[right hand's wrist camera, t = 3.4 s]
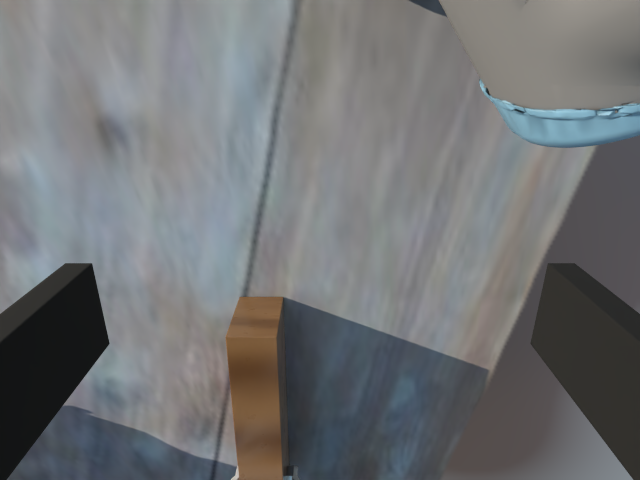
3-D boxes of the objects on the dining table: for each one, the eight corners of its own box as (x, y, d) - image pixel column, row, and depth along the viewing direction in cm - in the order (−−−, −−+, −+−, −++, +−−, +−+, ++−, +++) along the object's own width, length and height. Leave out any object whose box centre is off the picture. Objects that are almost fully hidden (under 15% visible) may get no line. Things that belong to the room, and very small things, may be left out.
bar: (239, 296, 51) (225, 336, 43) (283, 296, 51) (276, 337, 43) (253, 469, 61) (243, 526, 54) (289, 469, 61) (285, 526, 54)
